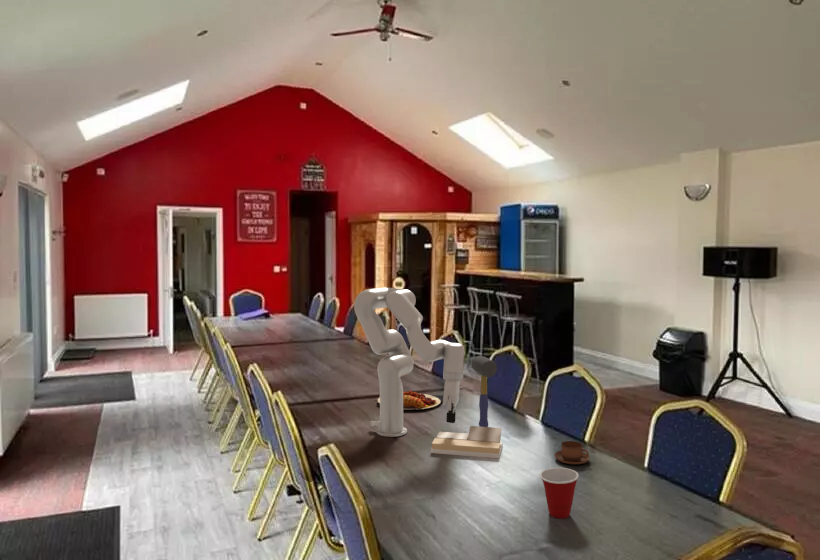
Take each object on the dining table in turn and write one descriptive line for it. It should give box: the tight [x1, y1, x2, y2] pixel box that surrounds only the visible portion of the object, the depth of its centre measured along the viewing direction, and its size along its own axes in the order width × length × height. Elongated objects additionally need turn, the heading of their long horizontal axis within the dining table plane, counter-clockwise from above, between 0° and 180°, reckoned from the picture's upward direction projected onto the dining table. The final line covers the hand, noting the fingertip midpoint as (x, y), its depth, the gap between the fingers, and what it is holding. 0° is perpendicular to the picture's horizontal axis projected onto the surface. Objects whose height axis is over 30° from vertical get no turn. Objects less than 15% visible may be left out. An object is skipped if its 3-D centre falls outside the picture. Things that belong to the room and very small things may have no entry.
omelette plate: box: [377, 390, 444, 411], centre depth 301 cm, size 31×35×7 cm
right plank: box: [468, 425, 502, 443], centre depth 235 cm, size 12×7×2 cm
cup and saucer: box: [554, 440, 590, 465], centre depth 221 cm, size 12×12×6 cm
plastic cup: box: [539, 467, 579, 519], centre depth 178 cm, size 11×11×12 cm
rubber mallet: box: [470, 355, 498, 427], centre depth 259 cm, size 12×8×30 cm, turn 16°
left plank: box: [435, 431, 469, 440], centre depth 238 cm, size 12×7×2 cm, turn 77°
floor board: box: [430, 437, 503, 459], centre depth 234 cm, size 25×14×4 cm, turn 77°
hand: (450, 422), depth 240 cm, fingers closed
